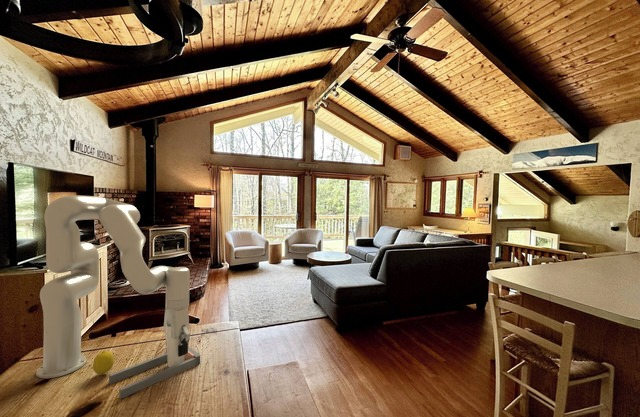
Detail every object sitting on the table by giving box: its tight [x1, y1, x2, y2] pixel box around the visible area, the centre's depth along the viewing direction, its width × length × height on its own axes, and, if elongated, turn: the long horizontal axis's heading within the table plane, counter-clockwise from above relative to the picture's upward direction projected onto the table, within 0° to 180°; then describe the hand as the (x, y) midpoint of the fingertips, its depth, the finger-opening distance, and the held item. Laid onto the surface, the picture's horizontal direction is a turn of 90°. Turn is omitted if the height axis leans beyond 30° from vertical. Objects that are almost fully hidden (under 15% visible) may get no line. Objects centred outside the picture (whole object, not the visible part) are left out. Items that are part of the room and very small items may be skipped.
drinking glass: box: [165, 324, 185, 368], centre depth 98 cm, size 7×7×15 cm
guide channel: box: [108, 346, 201, 399], centre depth 93 cm, size 11×24×3 cm, turn 141°
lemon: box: [92, 350, 115, 376], centre depth 91 cm, size 6×6×8 cm
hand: (176, 350), depth 98 cm, fingers open, 9 cm apart
